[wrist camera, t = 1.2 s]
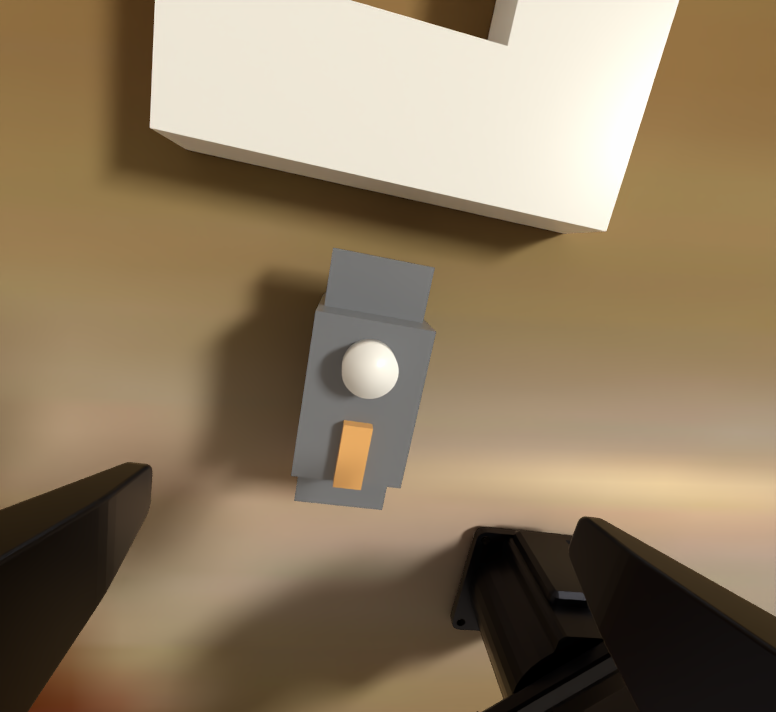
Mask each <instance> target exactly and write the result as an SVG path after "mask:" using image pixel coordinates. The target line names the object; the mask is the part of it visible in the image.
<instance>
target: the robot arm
mask: <svg viewBox="0 0 776 712" xmlns="http://www.w3.org/2000/svg"><path fill="white" fill-rule="evenodd" d="M151 488H152V468H151V466H150V465H148V464H141V463H133V462H127V463H124V464H121V465H119V466H116V467H113V468H111V469H108V470H105V471H103V472H100V473H97V474H95V475H92V476H89V477H87V478H84V479H81V480H79V481H76V482H73V483H71V484H68V485H65V486H63V487H60V488H58V489H55V490H52V491H50V492H47V493H44V494H42V495H39V496H36V497H34V498H31V499H28V500H26V501H23V502H20V503H18V504H15V505H12V506H10V507H7V508H4V509H2V510H0V712H28V711H29V709H30V708H31V706H32V705H33V703H34V702H35V700H36V698H37V697H38V695H39V694H40V692H41V691H42V689H43V688H44V686H45V685H46V683H47V682H48V680H49V679H50V677H51V676H52V674H53V673H54V671H55V670H56V668H57V667H58V665H59V664H60V662H61V661H62V659H63V658H64V656H65V655H66V653H67V652H68V650H69V649H70V647H71V646H72V644H73V643H74V641H75V640H76V638H77V636H78V635H79V633H80V632H81V630H82V629H83V627H84V626H85V624H86V623H87V621H88V620H89V618H90V617H91V615H92V614H93V612H94V611H95V609H96V608H97V606H98V605H99V603H100V601H101V600H102V598H103V597H104V595H105V593H106V592H107V590H108V588H109V586H110V584H111V583H112V581H113V579H114V577H115V575H116V573H117V571H118V569H119V567H120V566H121V564H122V562H123V560H124V558H125V556H126V554H127V552H128V550H129V548H130V547H131V545H132V543H133V541H134V539H135V537H136V535H137V533H138V531H139V529H140V527H141V526H142V524H143V522H144V520H145V518H146V516H147V514H148V511H149V508H150V503H151ZM484 536H487V537H486V538H485V539H482V538H483V537H484ZM451 622H452V625H453V627H454V628H456V629H460V630H477V631H480V633H481V636H482V639H483V642H484V644H485V647H486V650H487V653H488V656H489V659H490V662H491V665H492V668H493V670H494V673H495V676H496V679H497V682H498V685H499V688H500V691H501V693H502V696H503V700H501V701H500V702H498V703H496V704H494V705H493V706H491V707H489V708H488V709H486V710H484V711H482V712H776V617H775V616H773V615H772V614H770V613H768V612H766V611H765V610H763V609H761V608H759V607H757V606H756V605H754V604H752V603H750V602H749V601H747V600H745V599H743V598H742V597H740V596H738V595H736V594H734V593H733V592H731V591H729V590H727V589H726V588H724V587H722V586H720V585H718V584H717V583H715V582H713V581H711V580H710V579H708V578H706V577H704V576H702V575H701V574H699V573H697V572H695V571H694V570H692V569H690V568H688V567H686V566H685V565H683V564H681V563H679V562H678V561H676V560H674V559H672V558H670V557H669V556H667V555H665V554H663V553H662V552H660V551H658V550H656V549H654V548H653V547H651V546H649V545H647V544H646V543H644V542H642V541H640V540H638V539H637V538H635V537H633V536H631V535H630V534H628V533H626V532H624V531H622V530H621V529H619V528H617V527H615V526H614V525H612V524H610V523H608V522H606V521H605V520H603V519H600V518H595V517H582V518H580V519H579V521H578V523H577V526H576V528H575V531H574V534H573V536H568V535H561V534H553V533H543V532H533V531H523V530H520V531H518V530H508V529H498V528H488V527H482V528H479V529H478V530H477V531H476V532H475V534H474V537H473V540H472V543H471V547H470V550H469V554H468V557H467V561H466V564H465V568H464V571H463V575H462V578H461V582H460V585H459V589H458V592H457V595H456V599H455V602H454V606H453V609H452V613H451ZM477 712H478V711H477Z"/></svg>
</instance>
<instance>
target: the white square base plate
mask: <svg viewBox="0 0 776 712" xmlns="http://www.w3.org/2000/svg"><path fill="white" fill-rule="evenodd" d="M678 2H679V0H496V3H495V8H494V13H493V17H492V22H491V26H490V31H489V35H488V40H485V39H482V38H478V37H475V36H471V35H468V34H465V33H461V32H458V31H454V30H451V29H447V28H444V27H440V26H437V25H434V24H430V23H427V22H423V21H420V20H416V19H413V18H410V17H406V16H403V15H399V14H396V13H392V12H389V11H386V10H382V9H379V8H375V7H372V6H368V5H365V4H361V3H358V2H355V1H351V0H155V13H154V37H153V62H152V86H151V111H150V128H151V129H153V130H154V131H156V132H158V133H159V134H161V135H163V136H164V137H166V138H168V139H169V140H171V141H173V142H174V143H176V144H178V145H179V146H181V147H183V148H184V149H186V150H190V151H195V152H199V153H204V154H208V155H213V156H217V157H222V158H226V159H231V160H235V161H240V162H244V163H249V164H253V165H258V166H262V167H267V168H271V169H276V170H280V171H285V172H289V173H294V174H298V175H303V176H307V177H312V178H316V179H321V180H325V181H330V182H334V183H339V184H343V185H348V186H352V187H357V188H361V189H366V190H370V191H375V192H379V193H384V194H388V195H393V196H397V197H402V198H406V199H411V200H415V201H420V202H424V203H429V204H433V205H438V206H442V207H447V208H451V209H455V210H460V211H464V212H469V213H473V214H478V215H482V216H487V217H491V218H496V219H500V220H505V221H509V222H514V223H518V224H523V225H527V226H532V227H536V228H541V229H545V230H550V231H554V232H559V233H563V234H567V233H585V232H604V231H606V230H607V227H608V224H609V221H610V218H611V215H612V211H613V208H614V205H615V202H616V199H617V196H618V192H619V189H620V186H621V183H622V180H623V177H624V173H625V170H626V167H627V164H628V161H629V157H630V154H631V151H632V148H633V145H634V142H635V138H636V135H637V132H638V129H639V126H640V123H641V119H642V116H643V113H644V110H645V107H646V104H647V100H648V97H649V94H650V91H651V88H652V85H653V81H654V78H655V75H656V72H657V69H658V65H659V62H660V59H661V56H662V53H663V50H664V46H665V43H666V40H667V37H668V34H669V31H670V27H671V24H672V21H673V18H674V15H675V12H676V8H677V5H678Z"/></svg>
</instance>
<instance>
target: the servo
mask: <svg viewBox="0 0 776 712" xmlns="http://www.w3.org/2000/svg"><path fill="white" fill-rule="evenodd" d="M434 269H435V268H433V267H429V266H424V265H419V264H413V263H408V262H403V261H398V260H393V259H388V258H383V257H378V256H373V255H368V254H363V253H358V252H353V251H348V250H343V249H338V248H333V253H332V259H331V266H330V272H329V278H328V285H327V291H326V293H324V294H323V296H322V298H321V301H320V303H319V305H318V307H317V309H316V312H315V319H314V325H313V332H312V339H311V345H310V352H309V359H308V366H307V372H306V379H305V386H304V392H303V399H302V406H301V412H300V419H299V426H298V433H297V439H296V446H295V453H294V459H293V466H292V473H291V476H297V477H298V480H297V486H296V493H295V499H294V501H301V502H311V503H321V504H330V505H340V506H349V507H359V508H368V509H378V510H382V507H383V503H384V498H385V493H386V489H387V487H393V488H401V484H402V479H403V475H404V470H405V466H406V462H407V457H408V453H409V449H410V444H411V440H412V435H413V431H414V427H415V422H416V418H417V413H418V409H419V405H420V400H421V396H422V391H423V387H424V383H425V378H426V374H427V370H428V365H429V361H430V356H431V352H432V348H433V343H434V339H435V334H436V331H435V330H434V329H433V328H432V327H431V326H430V325H429V324H428V323H427V322H426V321H425V320H424V314H425V310H426V305H427V301H428V296H429V292H430V287H431V282H432V278H433V273H434Z"/></svg>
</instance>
